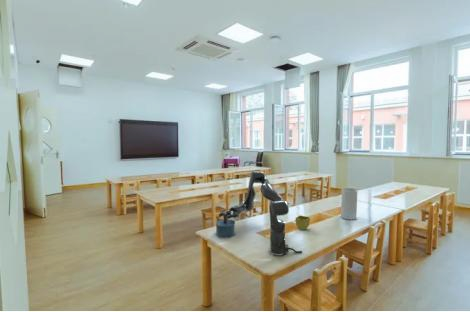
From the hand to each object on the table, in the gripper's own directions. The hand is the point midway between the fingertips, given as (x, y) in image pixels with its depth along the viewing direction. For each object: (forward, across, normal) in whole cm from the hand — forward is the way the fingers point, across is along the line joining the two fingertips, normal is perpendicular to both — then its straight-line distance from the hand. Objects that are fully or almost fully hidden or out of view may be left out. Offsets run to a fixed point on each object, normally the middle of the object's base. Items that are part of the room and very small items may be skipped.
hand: (223, 216), depth 184 cm
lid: (-2, 0, +6) cm, 6 cm away
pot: (-2, 0, +14) cm, 15 cm away
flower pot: (-45, +44, +15) cm, 64 cm away
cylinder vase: (-92, +68, +15) cm, 116 cm away
